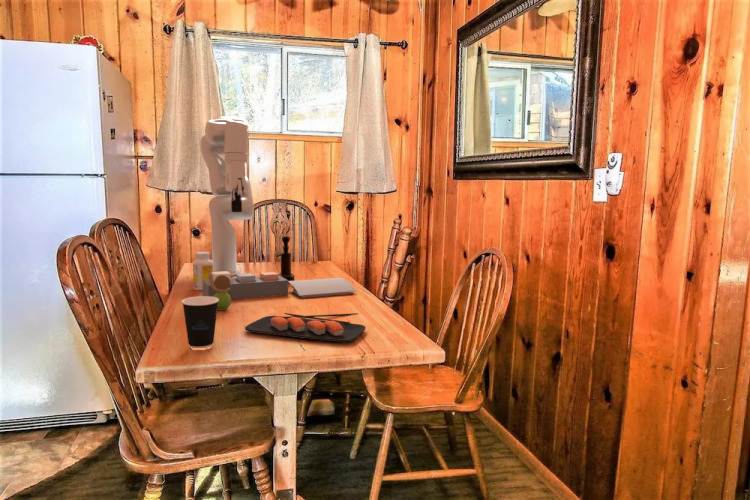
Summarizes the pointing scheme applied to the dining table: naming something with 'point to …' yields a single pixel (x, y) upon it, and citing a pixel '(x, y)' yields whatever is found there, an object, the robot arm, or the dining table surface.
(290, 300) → the dining table surface
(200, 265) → the supplement bottle
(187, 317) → the dixie cup
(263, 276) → the terracotta key
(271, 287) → the key panel
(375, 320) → the dining table surface
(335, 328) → the sushi plate
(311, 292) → the book
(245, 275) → the slate key
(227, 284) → the snail figurine
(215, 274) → the cream key
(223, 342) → the dining table surface
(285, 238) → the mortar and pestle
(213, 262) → the robot arm
